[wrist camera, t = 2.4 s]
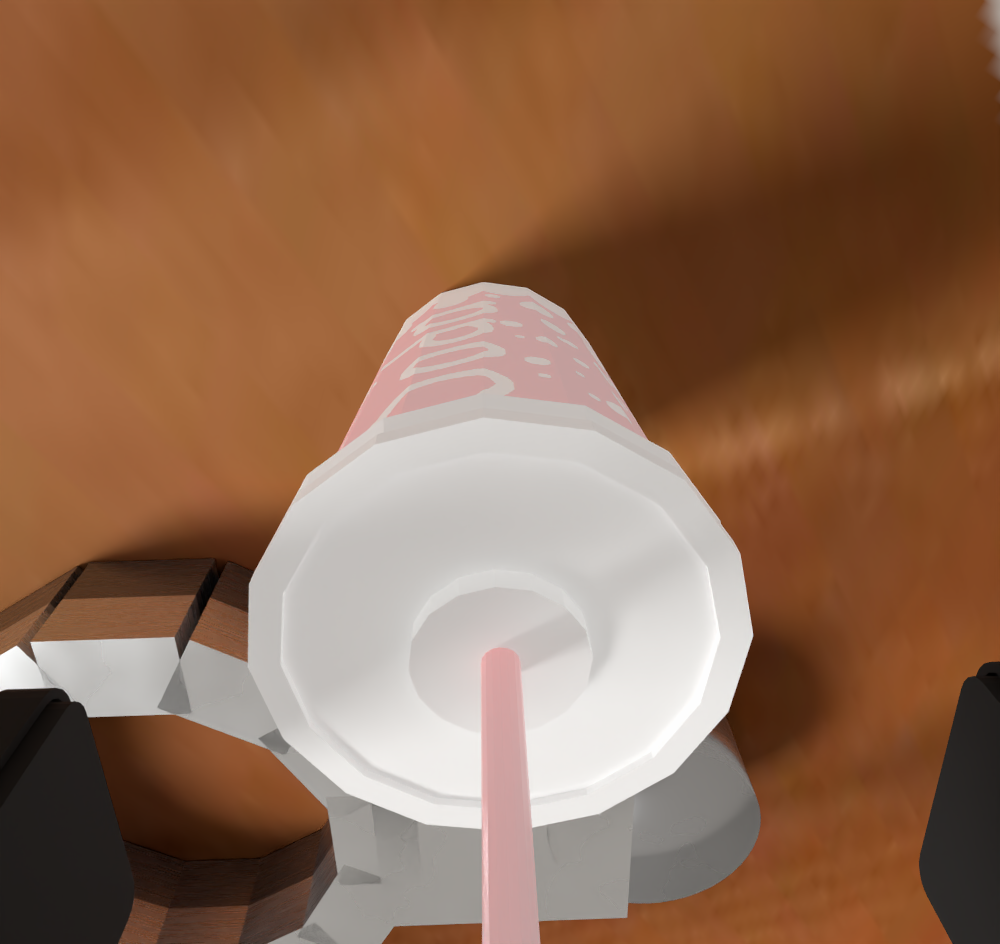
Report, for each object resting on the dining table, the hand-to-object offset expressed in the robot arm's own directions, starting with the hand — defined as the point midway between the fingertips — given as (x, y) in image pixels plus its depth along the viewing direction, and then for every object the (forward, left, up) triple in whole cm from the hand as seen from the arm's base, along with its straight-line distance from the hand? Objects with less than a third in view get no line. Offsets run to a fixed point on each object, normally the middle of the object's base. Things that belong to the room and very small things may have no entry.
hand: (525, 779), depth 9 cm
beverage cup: (-1, 0, -11) cm, 11 cm away
